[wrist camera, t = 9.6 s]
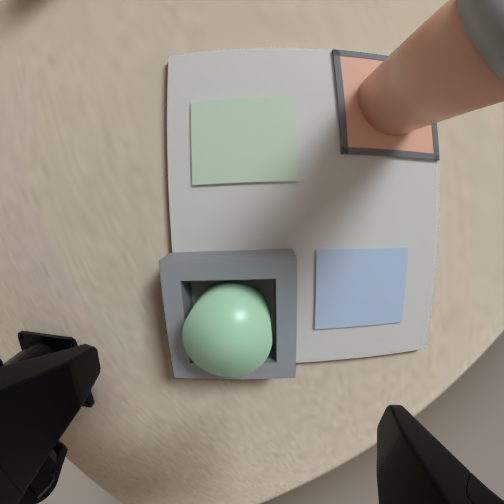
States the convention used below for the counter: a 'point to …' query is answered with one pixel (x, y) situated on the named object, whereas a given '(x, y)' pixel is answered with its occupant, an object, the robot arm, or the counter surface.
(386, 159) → the grey sorting board
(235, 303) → the button
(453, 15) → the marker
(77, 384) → the robot arm
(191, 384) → the counter surface
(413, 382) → the counter surface
